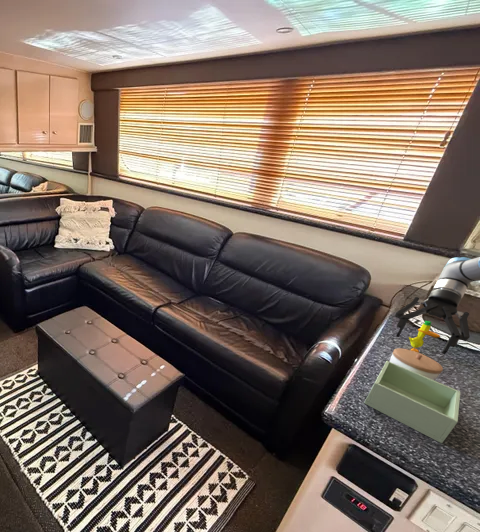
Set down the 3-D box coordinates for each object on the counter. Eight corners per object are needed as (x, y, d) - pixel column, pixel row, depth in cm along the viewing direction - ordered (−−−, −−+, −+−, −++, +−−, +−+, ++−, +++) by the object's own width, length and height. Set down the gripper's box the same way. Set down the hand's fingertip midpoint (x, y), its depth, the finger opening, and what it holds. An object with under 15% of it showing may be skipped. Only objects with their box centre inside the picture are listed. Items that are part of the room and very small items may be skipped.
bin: (446, 411, 86) (460, 391, 84) (441, 443, 75) (457, 421, 73) (376, 379, 97) (386, 360, 94) (363, 403, 86) (375, 382, 83)
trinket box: (425, 397, 91) (442, 370, 88) (378, 374, 99) (392, 349, 96) (433, 384, 97) (449, 359, 93) (388, 364, 105) (401, 340, 101)
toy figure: (428, 354, 113) (446, 326, 109) (427, 358, 111) (445, 328, 106) (403, 344, 118) (419, 317, 113) (401, 348, 116) (418, 319, 111)
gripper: (491, 313, 109) (465, 365, 105) (400, 287, 126) (375, 331, 122) (501, 303, 104) (474, 358, 100) (405, 277, 121) (379, 323, 117)
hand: (420, 343), depth 111 cm, fingers open, 11 cm apart
